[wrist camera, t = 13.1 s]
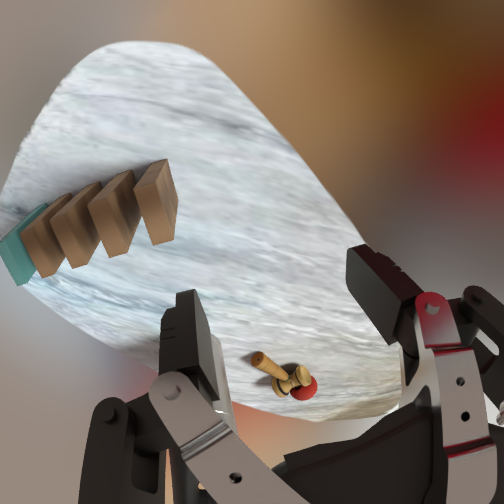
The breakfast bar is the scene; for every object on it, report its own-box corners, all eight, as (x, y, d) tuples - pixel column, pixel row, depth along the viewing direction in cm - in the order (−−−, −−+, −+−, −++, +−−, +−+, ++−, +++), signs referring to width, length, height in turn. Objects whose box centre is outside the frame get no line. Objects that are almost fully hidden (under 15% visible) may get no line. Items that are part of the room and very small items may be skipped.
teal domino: (60, 237, 28) (27, 282, 20) (51, 241, 28) (17, 286, 20) (46, 203, 26) (5, 240, 17) (36, 207, 25) (-5, 245, 17)
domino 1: (85, 228, 29) (54, 274, 20) (74, 232, 28) (42, 278, 20) (70, 192, 26) (31, 228, 18) (59, 197, 26) (19, 233, 17)
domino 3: (144, 209, 29) (127, 252, 21) (130, 213, 29) (109, 258, 21) (131, 169, 27) (105, 198, 18) (117, 174, 27) (87, 205, 18)
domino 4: (178, 200, 30) (173, 240, 21) (163, 204, 30) (153, 245, 21) (167, 158, 27) (155, 182, 19) (151, 163, 27) (133, 189, 18)
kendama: (236, 360, 48) (292, 393, 55) (243, 382, 42) (302, 412, 49) (266, 334, 48) (317, 372, 55) (277, 354, 42) (330, 390, 49)
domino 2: (113, 219, 29) (87, 264, 21) (100, 223, 29) (72, 268, 20) (99, 181, 26) (64, 214, 18) (86, 186, 26) (49, 220, 18)
